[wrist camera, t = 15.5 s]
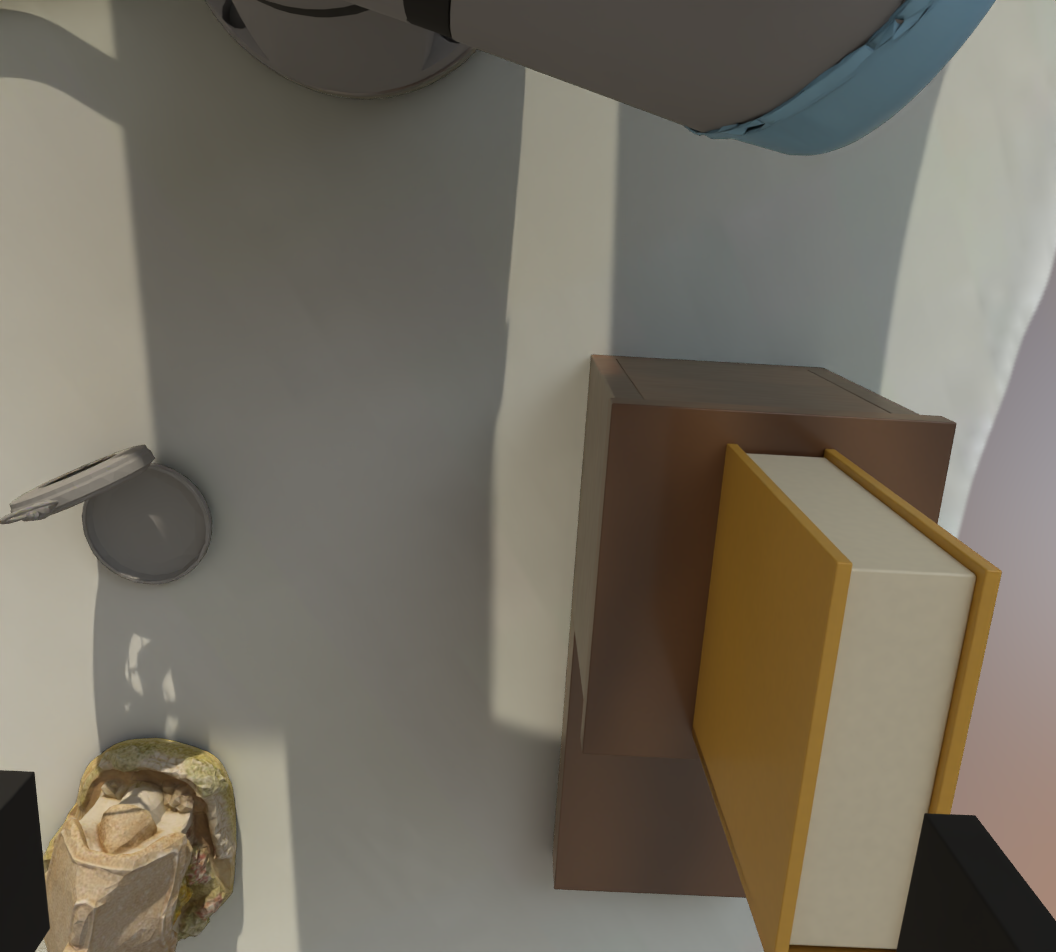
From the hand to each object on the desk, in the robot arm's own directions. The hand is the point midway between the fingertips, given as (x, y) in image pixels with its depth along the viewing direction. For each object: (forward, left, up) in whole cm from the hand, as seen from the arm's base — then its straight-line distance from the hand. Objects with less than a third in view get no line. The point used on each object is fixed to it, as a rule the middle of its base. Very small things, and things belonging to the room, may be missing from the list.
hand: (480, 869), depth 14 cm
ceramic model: (-20, -27, -35) cm, 48 cm away
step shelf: (+10, -11, -35) cm, 38 cm away
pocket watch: (-19, -6, -35) cm, 40 cm away
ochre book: (+10, -4, -21) cm, 23 cm away
